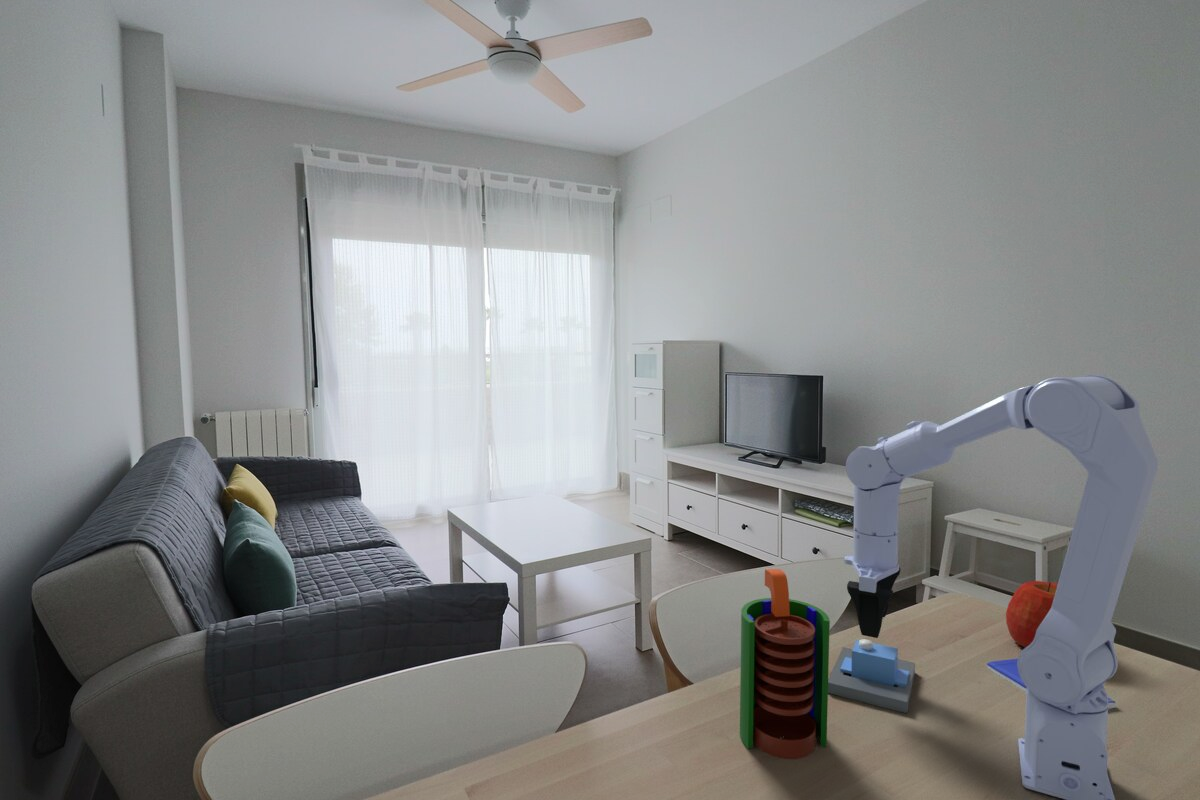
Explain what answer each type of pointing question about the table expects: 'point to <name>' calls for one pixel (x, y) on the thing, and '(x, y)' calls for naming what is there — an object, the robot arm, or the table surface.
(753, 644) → the motor
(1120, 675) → the table surface
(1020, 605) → the apple
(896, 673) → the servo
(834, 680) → the grey flat frame
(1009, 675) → the hard drive
